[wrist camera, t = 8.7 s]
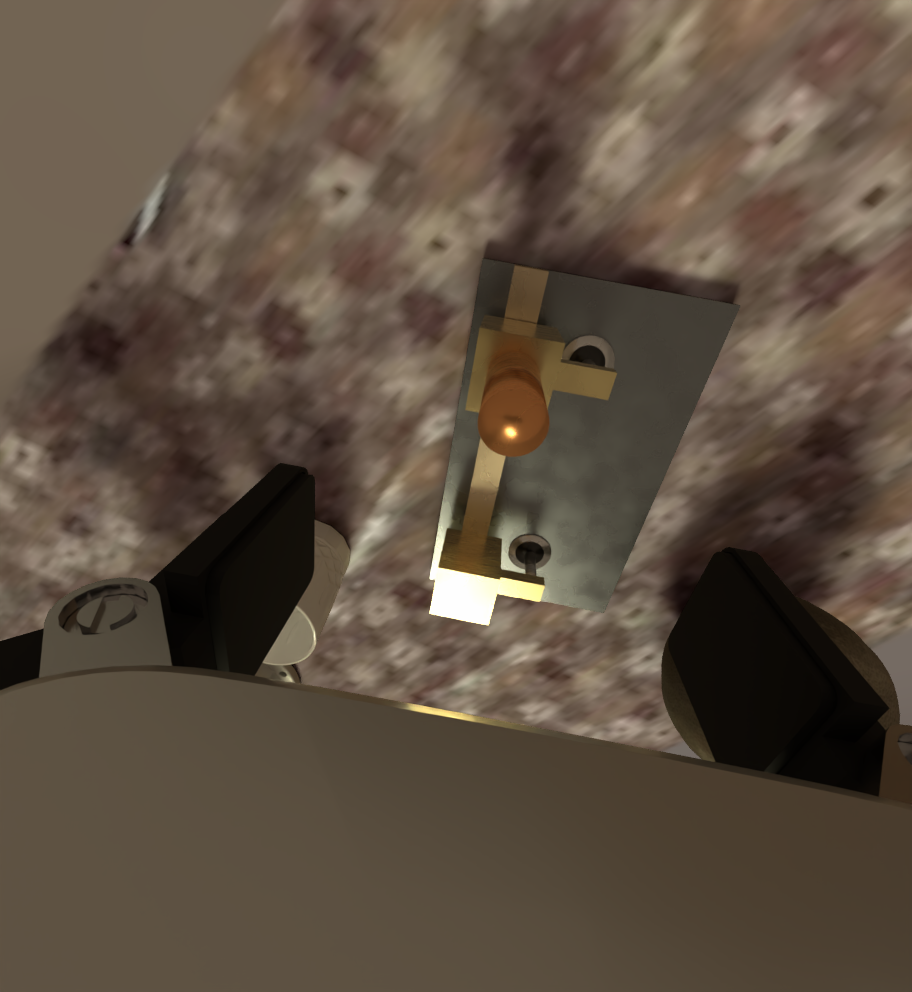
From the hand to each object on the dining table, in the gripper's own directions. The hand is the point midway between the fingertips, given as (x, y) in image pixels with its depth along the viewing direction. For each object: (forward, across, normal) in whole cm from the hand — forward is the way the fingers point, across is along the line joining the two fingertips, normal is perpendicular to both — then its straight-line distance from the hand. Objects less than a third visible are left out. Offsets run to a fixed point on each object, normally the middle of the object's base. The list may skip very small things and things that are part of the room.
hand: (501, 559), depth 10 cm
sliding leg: (+22, -2, -1) cm, 22 cm away
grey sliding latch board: (+24, -6, +7) cm, 25 cm away
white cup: (+24, +14, +20) cm, 34 cm away
